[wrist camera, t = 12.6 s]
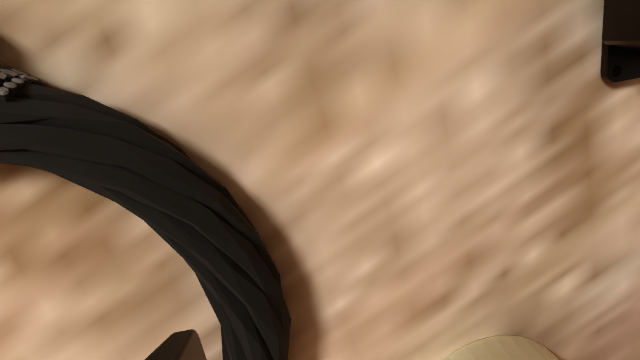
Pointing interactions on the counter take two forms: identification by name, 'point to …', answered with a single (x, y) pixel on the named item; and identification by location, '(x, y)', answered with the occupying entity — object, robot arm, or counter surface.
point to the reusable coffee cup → (503, 349)
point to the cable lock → (153, 202)
